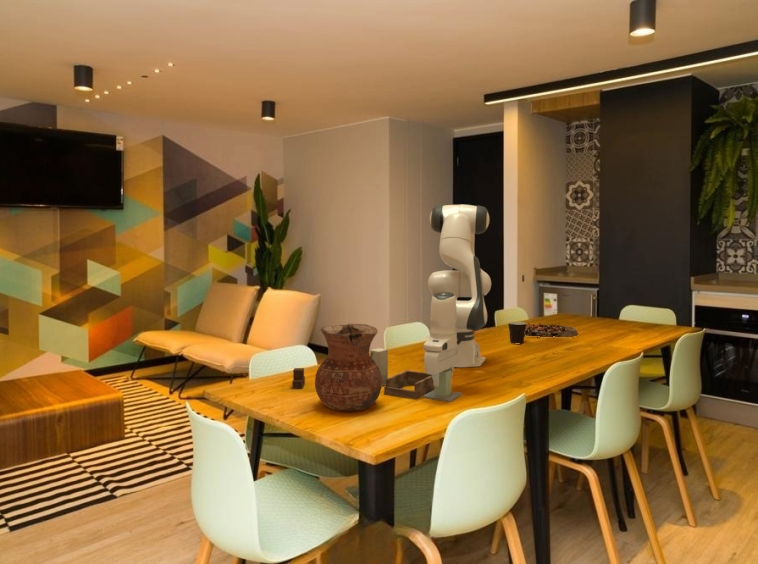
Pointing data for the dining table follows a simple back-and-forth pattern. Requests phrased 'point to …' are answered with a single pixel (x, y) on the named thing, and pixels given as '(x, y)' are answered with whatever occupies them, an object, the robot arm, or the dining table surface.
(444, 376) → the block
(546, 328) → the food dish
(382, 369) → the box
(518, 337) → the dark brown cup
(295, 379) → the stack of crates
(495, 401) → the dining table surface
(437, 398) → the pad
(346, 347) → the brown clay vase
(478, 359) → the robot arm
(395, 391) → the caddy
